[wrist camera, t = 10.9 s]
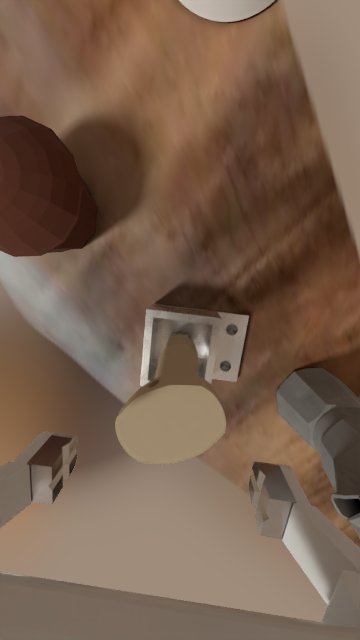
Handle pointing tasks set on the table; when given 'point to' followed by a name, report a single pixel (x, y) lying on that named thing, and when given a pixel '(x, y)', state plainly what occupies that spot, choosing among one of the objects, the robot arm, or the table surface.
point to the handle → (172, 410)
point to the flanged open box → (195, 339)
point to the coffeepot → (327, 431)
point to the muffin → (40, 192)
